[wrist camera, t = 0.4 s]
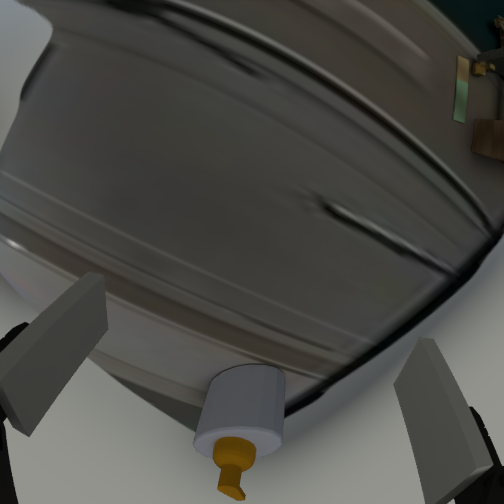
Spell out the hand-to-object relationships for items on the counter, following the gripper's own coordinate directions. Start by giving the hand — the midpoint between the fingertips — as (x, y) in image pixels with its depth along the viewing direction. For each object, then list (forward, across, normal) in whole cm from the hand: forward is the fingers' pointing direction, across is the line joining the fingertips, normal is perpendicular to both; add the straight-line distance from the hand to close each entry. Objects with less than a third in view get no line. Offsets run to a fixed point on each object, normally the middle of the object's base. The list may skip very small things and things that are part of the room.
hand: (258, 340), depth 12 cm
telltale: (+28, +22, +23) cm, 42 cm away
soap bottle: (+28, +1, -31) cm, 41 cm away
